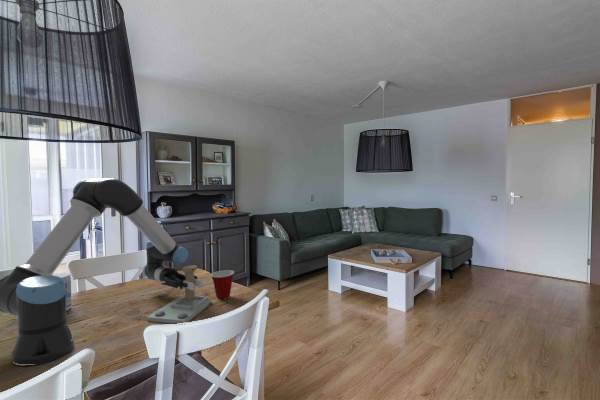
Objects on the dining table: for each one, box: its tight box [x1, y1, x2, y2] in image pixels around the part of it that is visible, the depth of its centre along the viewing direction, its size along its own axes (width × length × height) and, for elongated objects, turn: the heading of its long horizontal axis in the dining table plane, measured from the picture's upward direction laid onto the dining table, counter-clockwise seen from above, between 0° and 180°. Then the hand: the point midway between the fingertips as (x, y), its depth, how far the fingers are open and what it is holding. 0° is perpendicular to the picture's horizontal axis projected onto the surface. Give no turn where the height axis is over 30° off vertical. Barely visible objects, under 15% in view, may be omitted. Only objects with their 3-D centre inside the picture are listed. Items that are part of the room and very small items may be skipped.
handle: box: [181, 264, 198, 302], centre depth 136 cm, size 5×6×15 cm
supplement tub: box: [52, 272, 72, 312], centre depth 132 cm, size 10×10×15 cm
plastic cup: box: [210, 269, 235, 300], centre depth 147 cm, size 11×11×12 cm
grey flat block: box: [146, 295, 213, 324], centre depth 132 cm, size 22×16×3 cm
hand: (197, 285), depth 133 cm, fingers closed on handle, 3 cm apart
